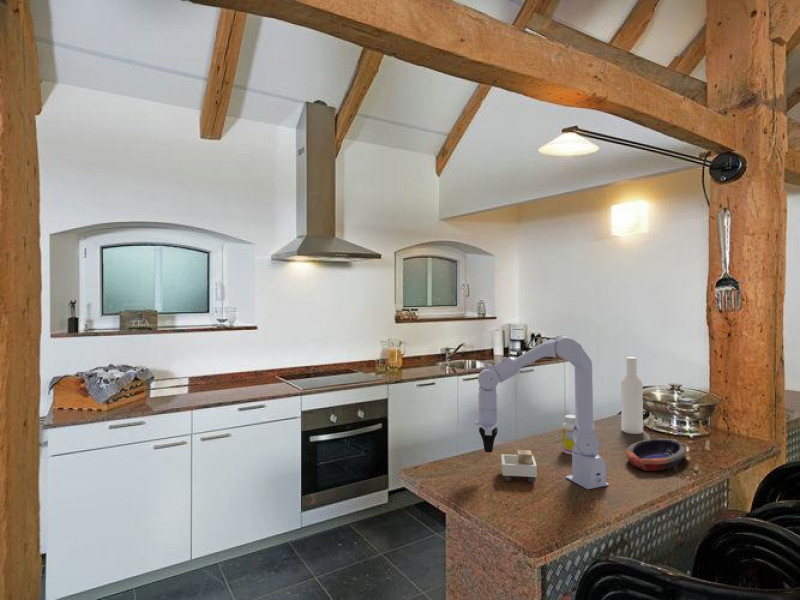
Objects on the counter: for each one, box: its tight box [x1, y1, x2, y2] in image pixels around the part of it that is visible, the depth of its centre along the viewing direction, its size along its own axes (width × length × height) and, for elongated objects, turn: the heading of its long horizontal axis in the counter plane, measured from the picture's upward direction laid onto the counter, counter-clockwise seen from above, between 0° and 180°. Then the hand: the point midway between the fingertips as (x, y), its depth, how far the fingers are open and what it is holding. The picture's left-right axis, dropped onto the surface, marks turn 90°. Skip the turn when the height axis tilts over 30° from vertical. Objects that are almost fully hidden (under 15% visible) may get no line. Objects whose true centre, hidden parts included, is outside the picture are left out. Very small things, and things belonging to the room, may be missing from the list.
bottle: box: [620, 356, 644, 435], centre depth 190 cm, size 8×8×30 cm
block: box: [516, 449, 533, 465], centre depth 144 cm, size 4×4×5 cm
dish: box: [625, 438, 687, 472], centre depth 157 cm, size 16×31×5 cm, turn 129°
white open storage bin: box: [500, 453, 538, 483], centre depth 145 cm, size 10×9×5 cm
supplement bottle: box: [562, 414, 576, 456], centre depth 167 cm, size 7×7×13 cm
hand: (488, 451), depth 146 cm, fingers closed
